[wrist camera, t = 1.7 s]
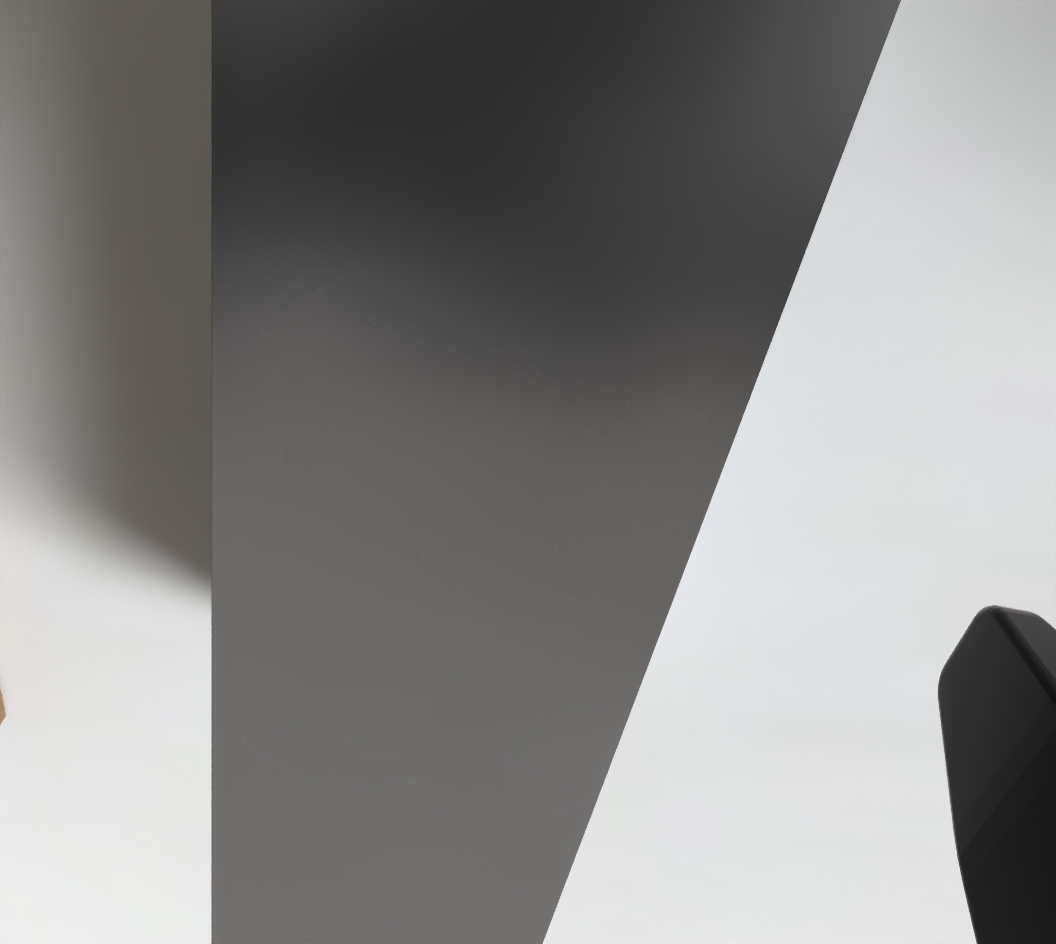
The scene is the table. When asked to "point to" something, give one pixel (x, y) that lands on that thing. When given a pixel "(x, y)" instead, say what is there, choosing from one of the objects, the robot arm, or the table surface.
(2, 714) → the peg rack
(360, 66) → the bar
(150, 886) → the table surface
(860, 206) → the table surface
